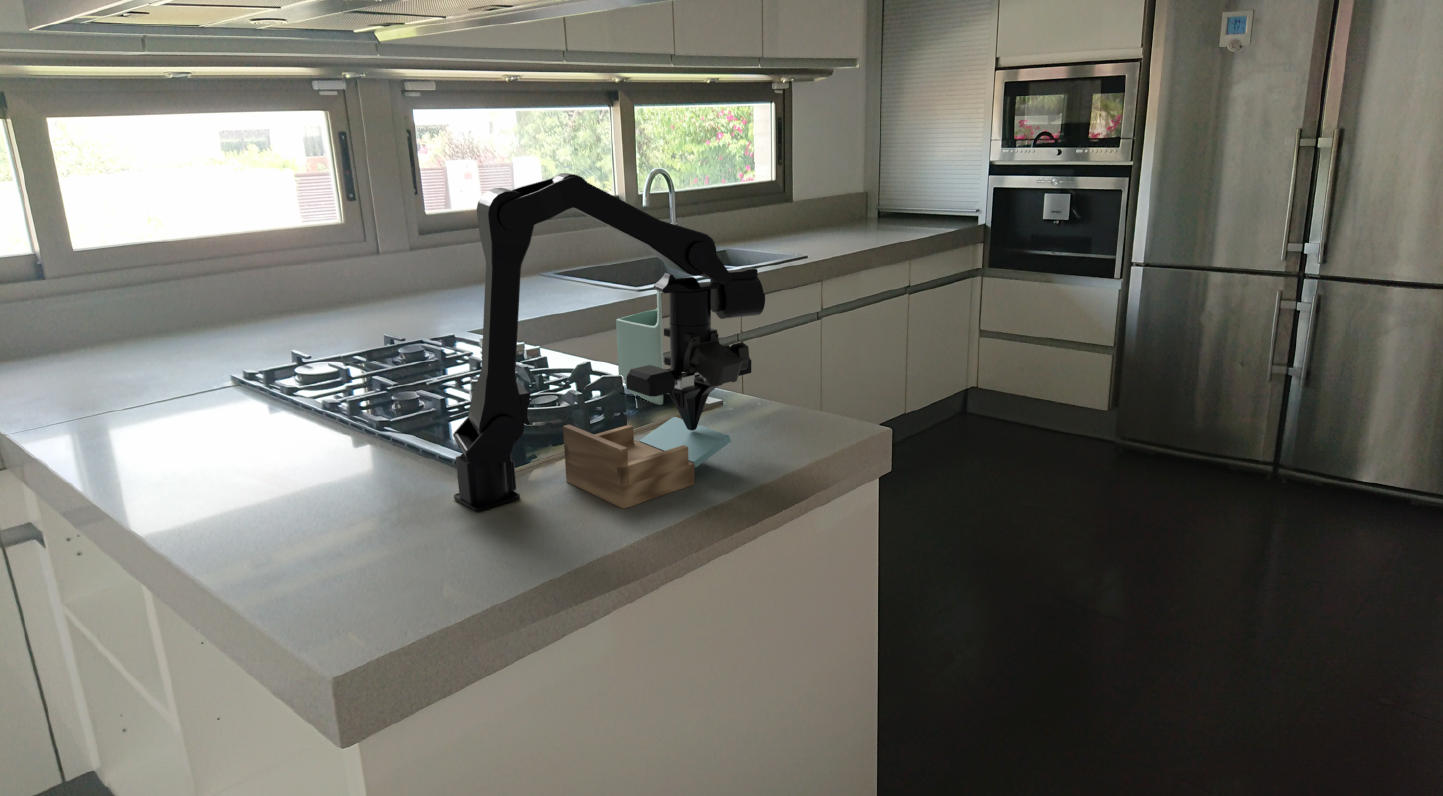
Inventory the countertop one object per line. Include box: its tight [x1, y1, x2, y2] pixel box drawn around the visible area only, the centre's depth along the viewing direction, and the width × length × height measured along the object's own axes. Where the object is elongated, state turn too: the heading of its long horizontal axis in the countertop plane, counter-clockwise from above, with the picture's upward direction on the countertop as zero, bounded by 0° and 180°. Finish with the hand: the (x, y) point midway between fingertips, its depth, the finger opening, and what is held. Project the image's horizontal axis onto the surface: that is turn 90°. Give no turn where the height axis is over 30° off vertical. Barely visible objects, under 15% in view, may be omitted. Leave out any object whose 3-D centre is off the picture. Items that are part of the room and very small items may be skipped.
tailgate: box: [638, 416, 732, 469], centre depth 135 cm, size 2×12×7 cm
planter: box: [615, 290, 664, 406], centre depth 168 cm, size 16×8×20 cm, turn 3°
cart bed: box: [562, 424, 696, 510], centre depth 128 cm, size 12×13×8 cm
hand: (691, 429), depth 135 cm, fingers closed
